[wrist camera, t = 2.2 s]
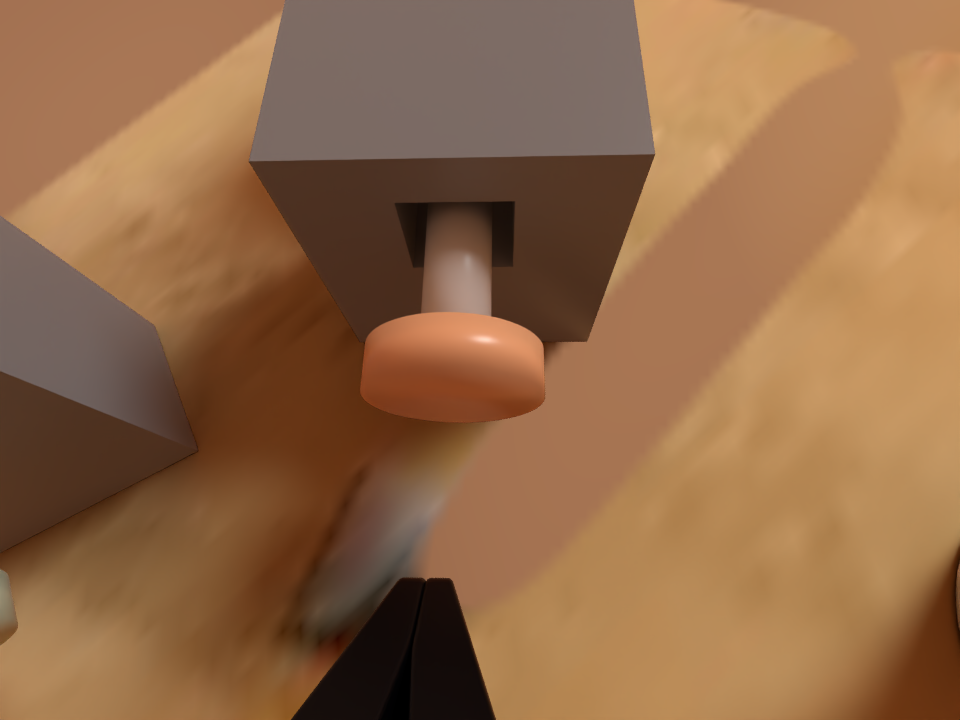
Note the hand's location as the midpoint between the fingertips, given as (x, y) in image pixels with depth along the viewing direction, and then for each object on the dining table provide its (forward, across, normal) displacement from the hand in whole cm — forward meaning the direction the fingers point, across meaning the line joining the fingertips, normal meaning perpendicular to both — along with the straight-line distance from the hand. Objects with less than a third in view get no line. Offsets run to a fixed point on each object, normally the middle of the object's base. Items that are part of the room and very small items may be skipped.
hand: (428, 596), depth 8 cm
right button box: (+15, 0, -1) cm, 15 cm away
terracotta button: (+9, 0, -2) cm, 9 cm away
